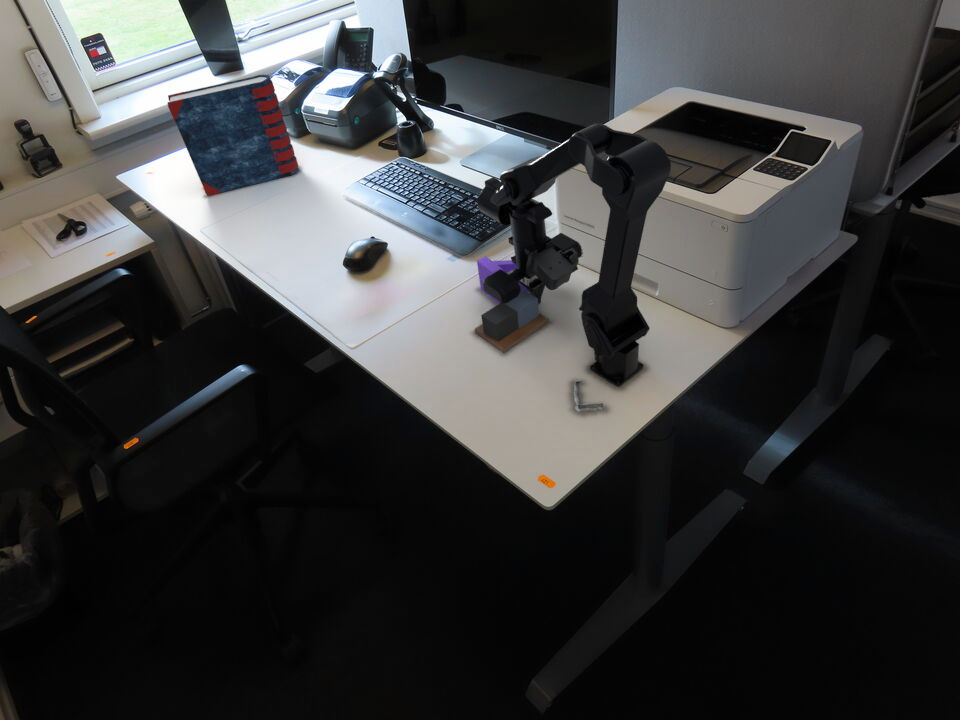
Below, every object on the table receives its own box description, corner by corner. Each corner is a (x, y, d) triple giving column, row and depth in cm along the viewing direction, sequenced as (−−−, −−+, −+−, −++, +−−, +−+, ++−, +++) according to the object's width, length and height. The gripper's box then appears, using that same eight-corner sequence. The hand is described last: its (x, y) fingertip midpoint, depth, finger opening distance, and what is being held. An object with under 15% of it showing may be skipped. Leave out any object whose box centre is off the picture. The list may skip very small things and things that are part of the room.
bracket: (500, 305, 128) (496, 276, 123) (480, 289, 132) (476, 260, 128) (550, 280, 132) (548, 251, 127) (529, 265, 136) (527, 236, 132)
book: (298, 163, 185) (269, 71, 168) (301, 173, 180) (271, 80, 163) (206, 186, 181) (167, 94, 164) (206, 197, 176) (166, 103, 159)
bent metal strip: (611, 397, 105) (590, 413, 103) (611, 403, 106) (590, 419, 104) (577, 376, 110) (556, 391, 108) (577, 382, 111) (556, 397, 108)
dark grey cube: (518, 328, 121) (517, 311, 118) (498, 342, 119) (496, 324, 116) (503, 319, 123) (501, 301, 120) (483, 332, 121) (481, 315, 118)
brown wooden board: (548, 322, 122) (548, 318, 122) (504, 352, 118) (503, 348, 117) (518, 304, 127) (518, 300, 127) (474, 333, 123) (474, 328, 122)
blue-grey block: (539, 315, 123) (538, 298, 120) (519, 328, 121) (517, 311, 118) (524, 306, 125) (522, 289, 122) (504, 319, 123) (502, 302, 120)
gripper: (517, 279, 105) (527, 349, 116) (602, 226, 112) (604, 298, 123) (474, 251, 112) (488, 320, 123) (557, 203, 119) (563, 273, 130)
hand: (537, 303), depth 124 cm, fingers closed
